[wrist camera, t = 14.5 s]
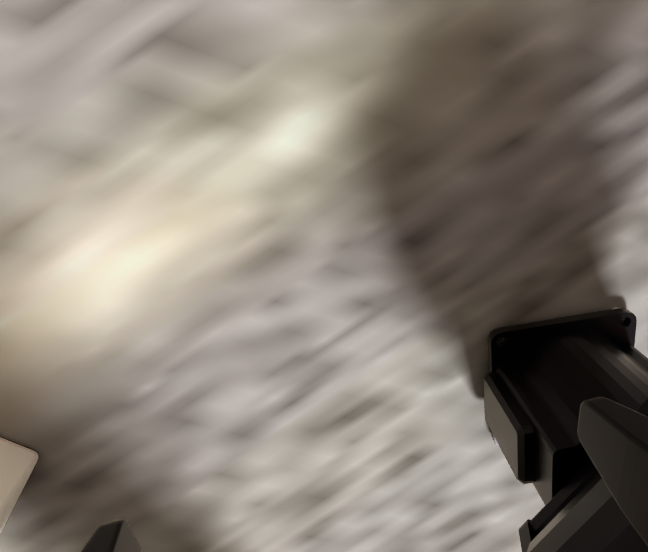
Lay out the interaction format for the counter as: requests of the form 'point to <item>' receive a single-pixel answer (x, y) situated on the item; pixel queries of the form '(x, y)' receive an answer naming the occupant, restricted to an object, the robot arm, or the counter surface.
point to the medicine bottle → (13, 475)
